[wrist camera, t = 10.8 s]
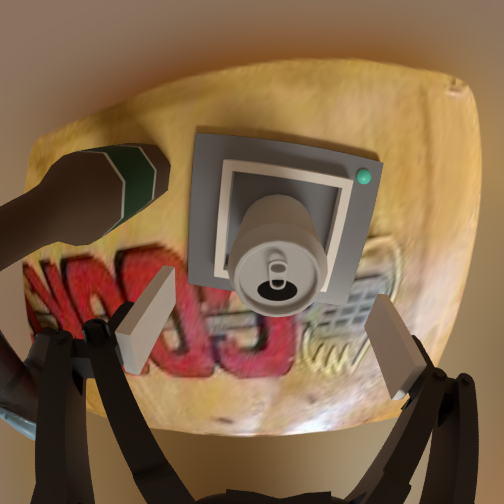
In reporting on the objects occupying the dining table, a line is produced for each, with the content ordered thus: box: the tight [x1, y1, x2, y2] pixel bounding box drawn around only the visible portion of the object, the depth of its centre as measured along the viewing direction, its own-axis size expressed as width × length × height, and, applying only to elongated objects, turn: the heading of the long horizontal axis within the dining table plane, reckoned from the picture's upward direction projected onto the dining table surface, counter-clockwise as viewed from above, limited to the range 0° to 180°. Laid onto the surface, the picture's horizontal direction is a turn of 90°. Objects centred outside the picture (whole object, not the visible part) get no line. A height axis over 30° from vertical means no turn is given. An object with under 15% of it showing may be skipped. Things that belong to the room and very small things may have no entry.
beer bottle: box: [0, 143, 171, 271], centre depth 18 cm, size 8×8×24 cm
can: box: [227, 194, 328, 317], centre depth 24 cm, size 8×8×12 cm
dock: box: [188, 133, 383, 305], centre depth 29 cm, size 20×18×2 cm
